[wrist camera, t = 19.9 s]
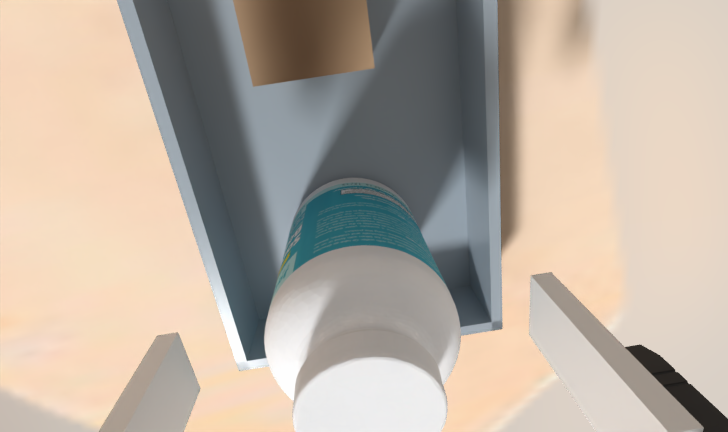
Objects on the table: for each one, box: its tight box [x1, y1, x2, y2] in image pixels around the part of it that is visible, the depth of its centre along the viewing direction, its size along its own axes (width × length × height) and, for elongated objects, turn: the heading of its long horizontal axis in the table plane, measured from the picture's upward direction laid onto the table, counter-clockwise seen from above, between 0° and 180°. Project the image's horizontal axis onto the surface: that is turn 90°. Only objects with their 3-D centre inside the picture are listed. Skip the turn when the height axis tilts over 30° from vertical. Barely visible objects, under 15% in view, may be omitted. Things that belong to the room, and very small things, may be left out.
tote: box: [117, 0, 502, 371], centre depth 20 cm, size 27×15×4 cm, turn 8°
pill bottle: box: [264, 178, 461, 432], centre depth 18 cm, size 8×7×14 cm
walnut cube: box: [233, 0, 375, 87], centre depth 18 cm, size 5×5×5 cm
